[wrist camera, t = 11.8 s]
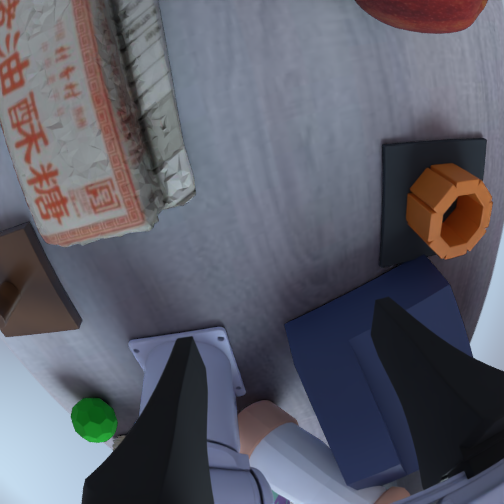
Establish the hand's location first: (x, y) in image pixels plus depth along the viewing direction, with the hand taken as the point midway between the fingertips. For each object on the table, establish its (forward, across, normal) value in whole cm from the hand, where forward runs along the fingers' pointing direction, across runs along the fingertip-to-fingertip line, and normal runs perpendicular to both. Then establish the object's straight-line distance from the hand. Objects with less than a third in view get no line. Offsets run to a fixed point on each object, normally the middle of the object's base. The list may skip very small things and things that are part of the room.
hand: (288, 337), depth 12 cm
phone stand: (+9, -8, +12) cm, 17 cm away
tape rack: (+9, +19, +1) cm, 21 cm away
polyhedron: (+9, +20, +17) cm, 27 cm away
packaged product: (+9, +8, -12) cm, 17 cm away
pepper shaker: (+7, +4, +21) cm, 23 cm away
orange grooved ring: (+9, -13, 0) cm, 15 cm away
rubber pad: (+9, -13, 0) cm, 16 cm away
